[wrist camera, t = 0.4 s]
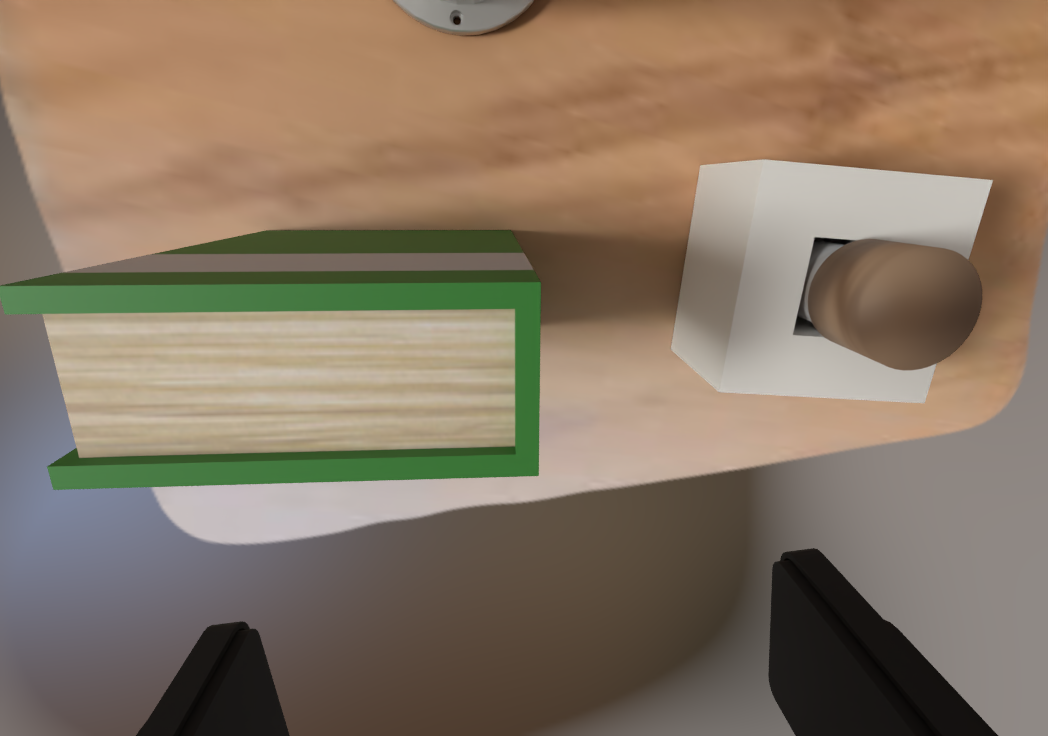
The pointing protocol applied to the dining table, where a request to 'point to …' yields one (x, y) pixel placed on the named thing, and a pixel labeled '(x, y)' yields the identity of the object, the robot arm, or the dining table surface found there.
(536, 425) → the hardback book
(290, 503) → the dining table surface
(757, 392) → the housing
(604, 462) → the dining table surface
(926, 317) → the brown rounded piece
